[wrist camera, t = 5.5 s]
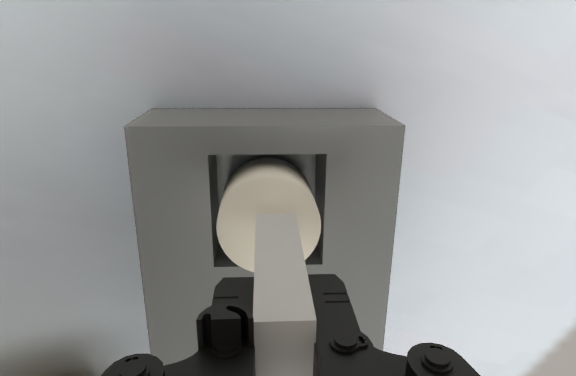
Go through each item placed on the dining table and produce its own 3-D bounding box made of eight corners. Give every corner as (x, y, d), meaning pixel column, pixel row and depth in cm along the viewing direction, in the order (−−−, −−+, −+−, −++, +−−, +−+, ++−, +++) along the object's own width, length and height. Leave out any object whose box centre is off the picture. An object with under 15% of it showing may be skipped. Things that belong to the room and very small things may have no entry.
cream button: (224, 242, 22) (218, 275, 19) (220, 158, 20) (214, 179, 17) (310, 240, 22) (319, 272, 19) (313, 157, 20) (322, 177, 17)
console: (182, 436, 30) (169, 510, 25) (151, 108, 23) (124, 126, 18) (351, 428, 31) (368, 497, 26) (375, 108, 23) (405, 125, 19)
